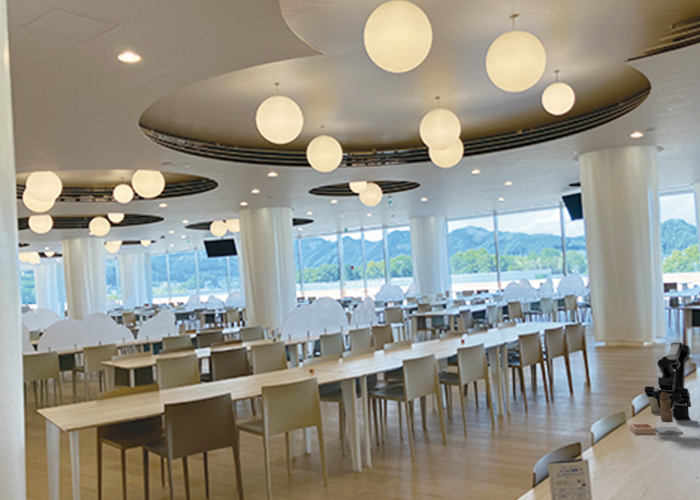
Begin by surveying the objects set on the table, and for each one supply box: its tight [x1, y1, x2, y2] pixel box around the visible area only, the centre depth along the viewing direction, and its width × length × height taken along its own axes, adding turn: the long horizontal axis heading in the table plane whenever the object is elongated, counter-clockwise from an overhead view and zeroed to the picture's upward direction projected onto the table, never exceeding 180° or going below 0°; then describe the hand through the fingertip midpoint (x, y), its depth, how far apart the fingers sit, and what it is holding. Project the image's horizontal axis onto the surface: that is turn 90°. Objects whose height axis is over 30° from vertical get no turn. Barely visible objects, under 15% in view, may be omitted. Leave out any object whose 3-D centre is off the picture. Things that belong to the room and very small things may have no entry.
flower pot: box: [647, 396, 661, 413], centre depth 322 cm, size 9×9×9 cm
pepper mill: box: [659, 392, 674, 424], centre depth 281 cm, size 5×5×14 cm
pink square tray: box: [629, 423, 657, 435], centre depth 284 cm, size 9×9×2 cm
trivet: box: [653, 426, 684, 435], centre depth 281 cm, size 10×10×1 cm
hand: (665, 407), depth 280 cm, fingers closed on pepper mill, 5 cm apart
